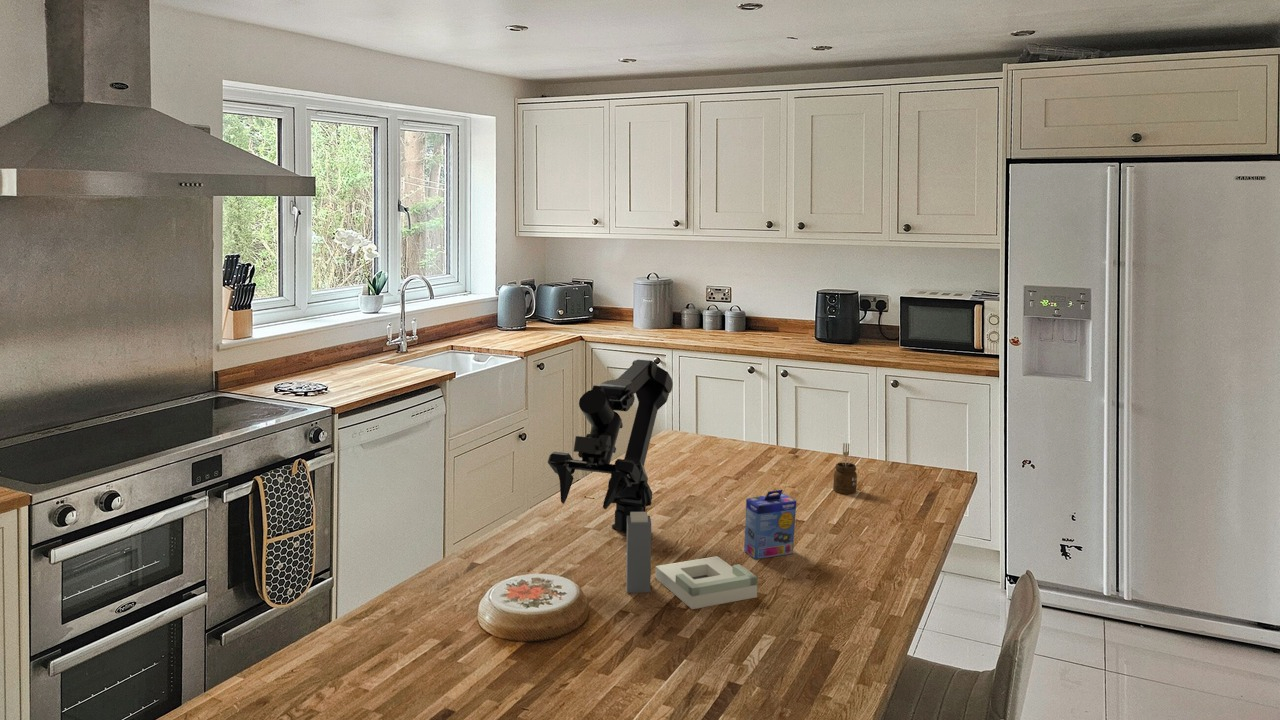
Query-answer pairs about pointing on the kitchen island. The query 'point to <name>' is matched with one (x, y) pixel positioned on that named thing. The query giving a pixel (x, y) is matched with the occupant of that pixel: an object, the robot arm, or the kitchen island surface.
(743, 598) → the socket box
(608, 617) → the kitchen island surface
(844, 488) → the utensil holder
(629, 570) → the plug
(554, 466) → the robot arm
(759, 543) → the ink cartridge box
